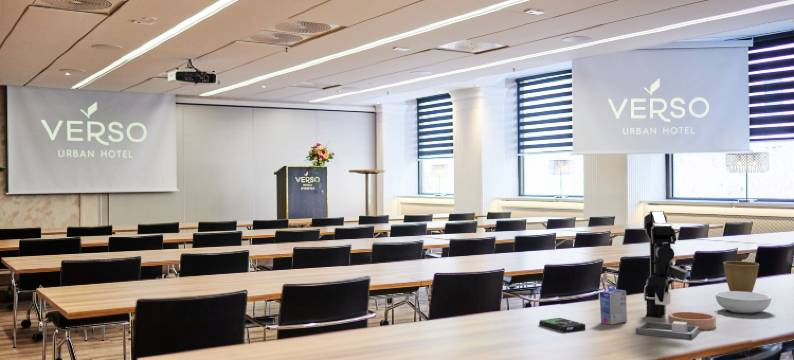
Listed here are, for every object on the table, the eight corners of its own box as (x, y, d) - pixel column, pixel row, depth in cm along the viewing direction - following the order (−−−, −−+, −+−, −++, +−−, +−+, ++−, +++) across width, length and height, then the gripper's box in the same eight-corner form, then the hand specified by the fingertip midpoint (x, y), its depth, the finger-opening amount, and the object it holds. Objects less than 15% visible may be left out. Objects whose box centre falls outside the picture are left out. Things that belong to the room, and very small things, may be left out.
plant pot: (720, 298, 332) (720, 263, 332) (727, 294, 344) (726, 260, 344) (756, 301, 324) (756, 265, 324) (761, 296, 336) (761, 262, 336)
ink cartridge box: (616, 319, 286) (615, 283, 286) (627, 321, 281) (627, 284, 281) (599, 322, 280) (599, 285, 280) (610, 325, 276) (610, 287, 276)
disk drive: (586, 331, 268) (559, 324, 281) (586, 324, 268) (559, 317, 281) (564, 334, 263) (538, 326, 276) (564, 326, 263) (538, 319, 276)
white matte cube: (655, 304, 266) (655, 293, 266) (658, 302, 270) (658, 291, 270) (667, 305, 264) (667, 294, 264) (670, 303, 267) (670, 292, 267)
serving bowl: (716, 314, 294) (716, 297, 294) (714, 306, 314) (714, 290, 314) (773, 317, 287) (773, 300, 287) (768, 308, 306) (768, 292, 306)
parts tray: (635, 333, 260) (635, 328, 260) (645, 326, 273) (645, 321, 273) (692, 339, 250) (691, 334, 250) (699, 331, 263) (699, 326, 263)
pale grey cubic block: (671, 334, 259) (671, 323, 259) (674, 332, 262) (674, 321, 262) (684, 335, 256) (684, 324, 256) (687, 333, 260) (687, 322, 260)
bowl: (664, 326, 272) (664, 317, 272) (674, 319, 285) (673, 310, 285) (711, 331, 263) (711, 321, 263) (718, 323, 277) (718, 314, 277)
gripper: (680, 262, 254) (680, 307, 255) (690, 256, 270) (691, 298, 270) (647, 261, 260) (647, 304, 261) (659, 255, 276) (660, 296, 276)
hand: (662, 300), depth 267 cm, fingers closed on white matte cube, 4 cm apart
